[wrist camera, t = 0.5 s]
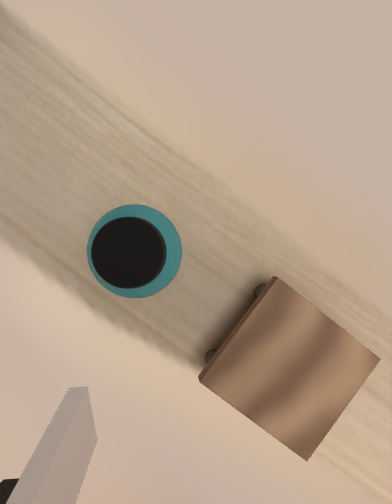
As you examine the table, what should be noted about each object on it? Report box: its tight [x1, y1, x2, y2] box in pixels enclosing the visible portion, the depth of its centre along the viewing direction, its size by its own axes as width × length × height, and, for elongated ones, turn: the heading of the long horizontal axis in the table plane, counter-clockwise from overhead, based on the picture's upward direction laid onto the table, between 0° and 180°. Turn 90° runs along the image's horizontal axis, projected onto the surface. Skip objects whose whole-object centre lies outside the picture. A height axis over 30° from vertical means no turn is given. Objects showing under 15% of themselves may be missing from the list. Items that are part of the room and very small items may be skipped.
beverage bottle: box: [87, 205, 182, 298], centre depth 27 cm, size 6×7×20 cm
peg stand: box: [198, 277, 381, 461], centre depth 35 cm, size 14×13×6 cm
